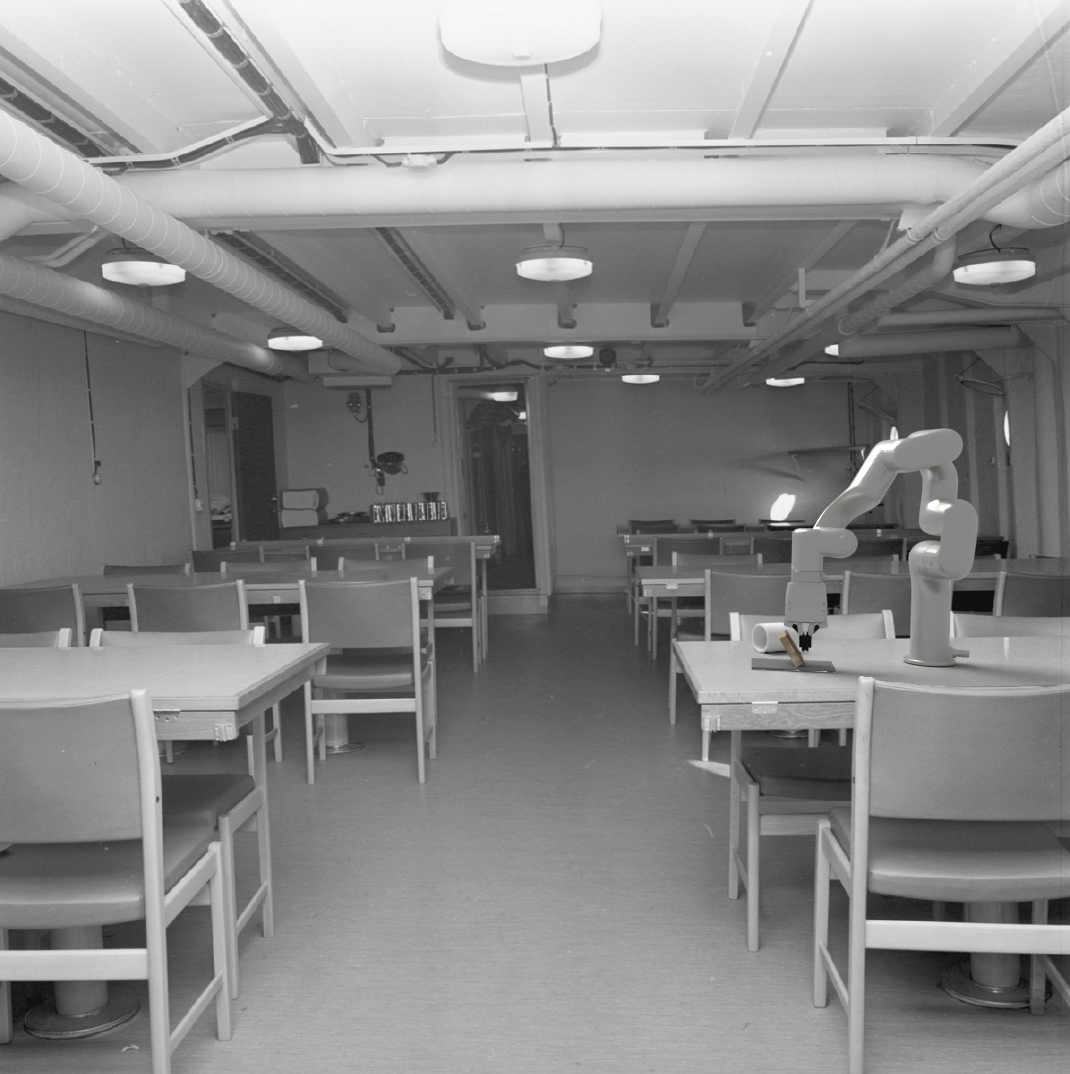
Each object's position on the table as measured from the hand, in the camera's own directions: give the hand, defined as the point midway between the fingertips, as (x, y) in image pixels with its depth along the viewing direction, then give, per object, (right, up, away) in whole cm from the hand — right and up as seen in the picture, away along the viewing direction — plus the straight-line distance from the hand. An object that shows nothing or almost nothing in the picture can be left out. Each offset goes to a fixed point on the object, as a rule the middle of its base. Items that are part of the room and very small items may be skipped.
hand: (805, 650), depth 250 cm
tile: (-1, -3, 0) cm, 3 cm away
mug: (-3, -3, +26) cm, 27 cm away
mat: (-3, -4, +1) cm, 5 cm away
